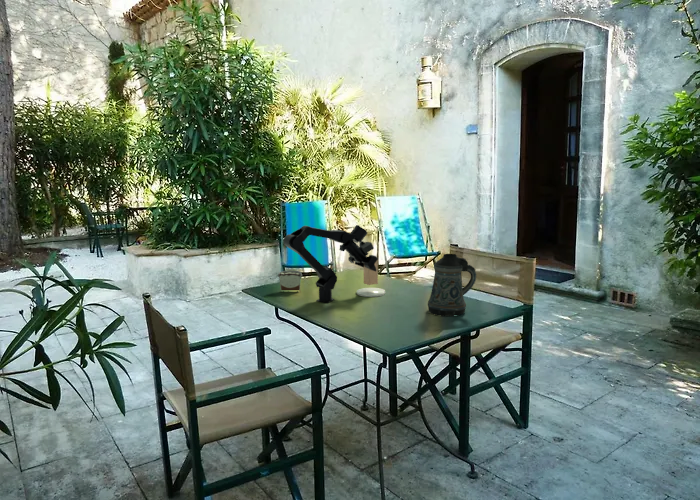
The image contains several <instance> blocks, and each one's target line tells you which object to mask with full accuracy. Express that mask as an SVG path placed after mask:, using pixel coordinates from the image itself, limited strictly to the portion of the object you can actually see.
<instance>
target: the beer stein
mask: <svg viewBox="0 0 700 500" xmlns="http://www.w3.org/2000/svg"><path fill="white" fill-rule="evenodd" d="M433 267H434V268H433V269H434V276H433V282H432V283H433V284H432V287H431V288H432V289H431V292H430V296H429V299H428V301H427V308H428V312H429V314H432V315H434V314H435V316H438V315H441V316H440V317H455V316H454V315H459V316H461V315H460V314H462V315H464V314H465V313H466V308H467V303H466V300H465V298H464V297H465V296H464V295H465V294H467V293H468V292H469V291H470V290H471V289H472V288H473V287H474V285H475V283H476V280H477V272H476V268H475V267H474V266H472V265H471V264H469V262H468V260H466V258H463V257H458V255H457V254H456V253H444V254H443V256H442V257H441V258H440V259H438V260H437V261H436V262H435V263H434V264H433ZM462 272H463V273H464V272H468V273H469V274H470V279H469V281H468V283H466V285H464V287H463V281H462V280H463V279H462ZM464 312H465V313H464ZM463 313H464V314H463Z"/></svg>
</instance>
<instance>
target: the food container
mask: <svg viewBox="0 0 700 500" xmlns="http://www.w3.org/2000/svg"><path fill="white" fill-rule="evenodd" d="M277 277H278V279H279V280H278V281H279V286H280V287H279V288H280V291H281V290H300V291H301V281H302V280H301V279H302V277H303V274H302V272H301V271H299V270H283V271H282V270H281V271H279V272H278V274H277Z"/></svg>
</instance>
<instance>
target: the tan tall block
mask: <svg viewBox="0 0 700 500" xmlns="http://www.w3.org/2000/svg"><path fill="white" fill-rule="evenodd" d="M378 260H379V259H378ZM378 260H377V261H376V263H375V264H374V265H375V267H376V269H377V270H376V272H375V271H373V270H370V269H368V268H366V267H365V265H364V268H363V284H366V285H368V286H373V285H377V284H379V282H378V281H379V279H378V277H379V273H378V272H379V270H378V267H379V265H378V264H379V263H378V262H379V261H378Z"/></svg>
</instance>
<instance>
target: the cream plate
mask: <svg viewBox="0 0 700 500" xmlns="http://www.w3.org/2000/svg"><path fill="white" fill-rule="evenodd" d="M385 294H386V290H385V288H379V287H363V288H359V289H357V290H356V295H358V296H360V297H367V298H375V297H377V298H378V297H382V296H385Z"/></svg>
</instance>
